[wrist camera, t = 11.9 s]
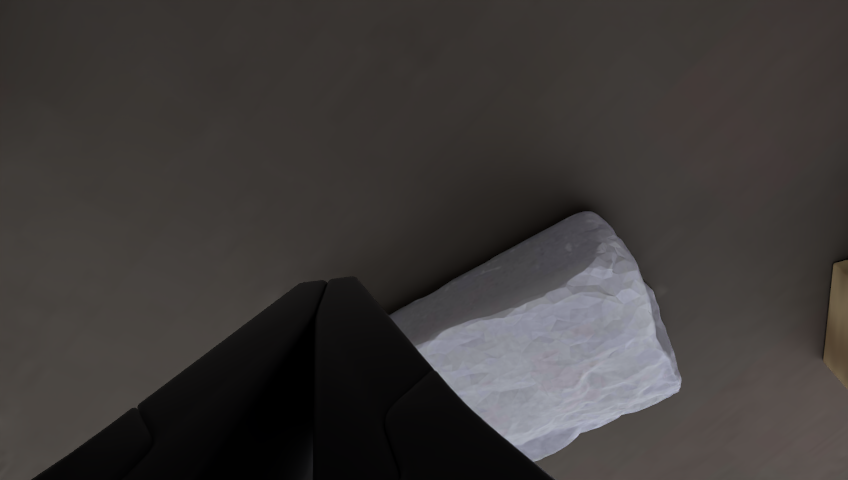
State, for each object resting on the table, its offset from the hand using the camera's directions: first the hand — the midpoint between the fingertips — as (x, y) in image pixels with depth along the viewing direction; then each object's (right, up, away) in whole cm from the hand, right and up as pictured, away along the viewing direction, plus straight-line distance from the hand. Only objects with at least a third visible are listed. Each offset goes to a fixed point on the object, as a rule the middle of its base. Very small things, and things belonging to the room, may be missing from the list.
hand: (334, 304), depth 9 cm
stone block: (+5, -3, +18) cm, 19 cm away
